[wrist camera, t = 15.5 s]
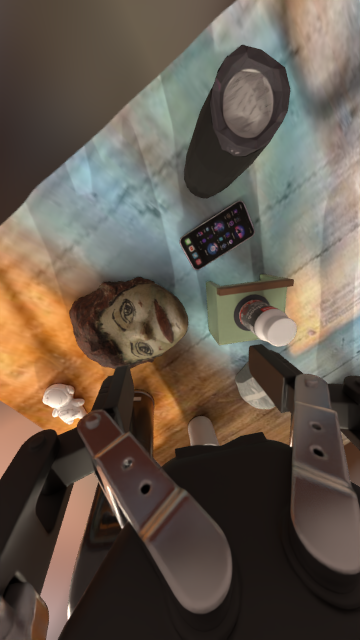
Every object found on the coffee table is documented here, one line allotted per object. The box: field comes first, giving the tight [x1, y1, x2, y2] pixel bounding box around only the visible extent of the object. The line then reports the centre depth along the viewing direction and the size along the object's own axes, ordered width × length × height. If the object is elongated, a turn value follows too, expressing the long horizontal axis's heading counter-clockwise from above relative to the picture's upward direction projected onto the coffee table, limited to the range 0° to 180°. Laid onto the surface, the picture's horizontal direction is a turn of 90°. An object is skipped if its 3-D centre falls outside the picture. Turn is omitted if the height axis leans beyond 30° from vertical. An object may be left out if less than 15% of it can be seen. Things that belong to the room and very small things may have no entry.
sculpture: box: [69, 277, 188, 369], centre depth 40 cm, size 21×10×25 cm
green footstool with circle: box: [206, 274, 294, 345], centre depth 41 cm, size 12×14×10 cm
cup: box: [188, 416, 219, 446], centre depth 54 cm, size 7×10×9 cm
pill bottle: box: [239, 300, 297, 346], centre depth 34 cm, size 6×6×10 cm
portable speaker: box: [184, 45, 290, 198], centre depth 28 cm, size 9×9×20 cm
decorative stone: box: [235, 362, 275, 409], centre depth 52 cm, size 13×10×6 cm
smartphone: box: [179, 201, 255, 270], centre depth 40 cm, size 8×1×15 cm
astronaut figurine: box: [42, 384, 87, 424], centre depth 48 cm, size 9×12×3 cm
